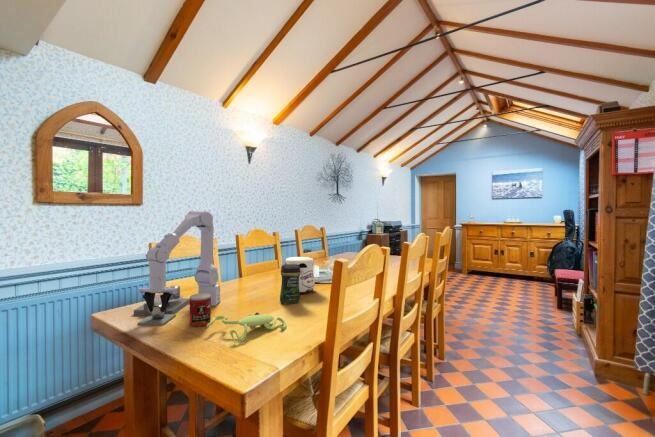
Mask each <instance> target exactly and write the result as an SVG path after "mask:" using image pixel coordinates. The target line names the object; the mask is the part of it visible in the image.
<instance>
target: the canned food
mask: <svg viewBox="0 0 655 437" xmlns="http://www.w3.org/2000/svg"><path fill="white" fill-rule="evenodd" d="M189 298H190V303H189V326H191V327H193V328H203V327H207V324H209V323H210V322H211V321H212V319H211V318H212V317H211V316H212V315H211V311H212V310H211V308H212V306H211V295H210V294H207V293H199V294H198V293H194V294H192V295H190V296H189Z"/></svg>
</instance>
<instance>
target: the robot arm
mask: <svg viewBox="0 0 655 437" xmlns="http://www.w3.org/2000/svg"><path fill="white" fill-rule="evenodd" d="M213 222H214V215H213V214H212V213H211V212H210V211H209V210H208V211H207V210H202V211H201V210H190V211H188V212H187V213H186V214H185V215H184V219H183V220H182V221H181V223H179V225H178V226H177V227H176V229H174V231H173V232H171V233H170V232H169V233H166V234H164V236H163V238H162V239H161V240H160V241H159V242H157V243H156V244H155V246H152V247H150V248H149V249H148V251H147V253H146V254H145V258H146V259H147V261H148V265H149V286H147V287H139V288H137V294H142V298H143V299H144V301H145V303H147V305H148V308H149V312H152V306H153V305H154V298H155V295H156V294H159V295H160V294H162V295H160V298H161V303H162V312H165V311H166V308H167V304H168V302H169V299H170V297H171V295H172V294H176V293H177V288H171V287H170V286H166V285H167V282H166V281H167V276H166V275H167V261H168V260H169V258H170V255H171V253H172V251H173V250H174V249H175V248H176V247H177V246H178V244H179V243H180V242H181V241H180V238H182V237H183V235H185V234H186V233H187V232H188V231H189V230H191V228H193V227H196V228H197V229H198V230H199V231H200V258H199V259H200V263H199V265H198V266H197V267H196V270H195V274H194V280H195V282H196V283H197V284H196V285H197V286H198V289H197V290H198V291H197V292H198V293H197V294H199V293H207V294H210V295H211V307H215V306H217V305H218V304H219V303H220V302H221V287H220V284H217V283H218V281H219V273H218V268H217V266H215V265H214V263H213V262H214V232H215V231H214V223H213Z"/></svg>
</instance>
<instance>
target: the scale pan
mask: <svg viewBox="0 0 655 437" xmlns="http://www.w3.org/2000/svg"><path fill="white" fill-rule="evenodd" d="M162 294H163V293H159V294H157V295H156V294H155V298H154V302H161V298H160V295H162ZM182 298H183V294H181V293H180V298H178V299H169V302H168V303H171V302H175V301H178V300H180V299H182Z"/></svg>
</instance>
